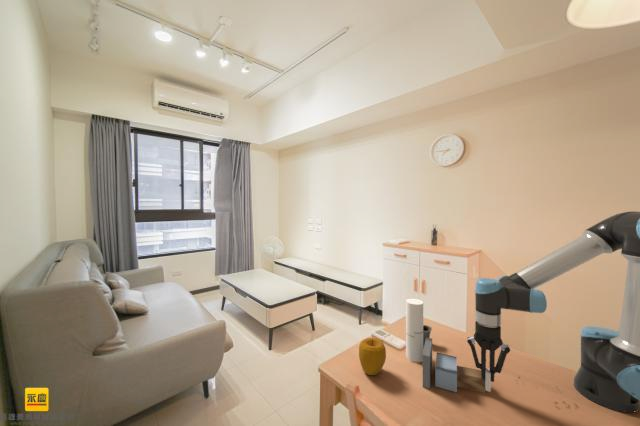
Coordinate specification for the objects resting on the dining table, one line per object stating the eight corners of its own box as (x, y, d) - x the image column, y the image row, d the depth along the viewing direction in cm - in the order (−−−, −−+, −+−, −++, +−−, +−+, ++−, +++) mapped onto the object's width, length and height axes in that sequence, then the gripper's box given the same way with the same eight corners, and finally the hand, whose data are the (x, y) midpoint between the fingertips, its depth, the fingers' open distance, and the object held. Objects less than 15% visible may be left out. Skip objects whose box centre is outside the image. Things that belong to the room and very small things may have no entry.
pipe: (404, 343, 122) (404, 327, 122) (426, 339, 126) (426, 323, 126) (412, 350, 117) (412, 333, 116) (435, 345, 120) (435, 329, 120)
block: (456, 375, 98) (456, 356, 98) (456, 392, 90) (456, 371, 89) (436, 370, 102) (436, 352, 101) (435, 386, 93) (435, 366, 93)
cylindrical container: (424, 363, 107) (424, 305, 107) (407, 361, 108) (407, 303, 108) (421, 353, 114) (421, 299, 114) (405, 351, 115) (404, 298, 115)
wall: (432, 367, 104) (432, 338, 104) (429, 388, 92) (429, 356, 92) (425, 365, 105) (425, 337, 105) (422, 386, 93) (422, 354, 93)
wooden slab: (481, 383, 94) (481, 370, 94) (485, 392, 90) (485, 378, 90) (440, 374, 100) (440, 362, 99) (441, 383, 95) (441, 370, 95)
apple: (384, 383, 95) (384, 350, 95) (356, 377, 98) (356, 345, 98) (387, 366, 105) (386, 335, 105) (361, 361, 109) (361, 332, 108)
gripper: (508, 322, 89) (507, 387, 90) (466, 315, 95) (465, 376, 96) (512, 331, 83) (512, 402, 83) (467, 323, 89) (467, 389, 89)
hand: (487, 388), depth 89 cm, fingers closed
